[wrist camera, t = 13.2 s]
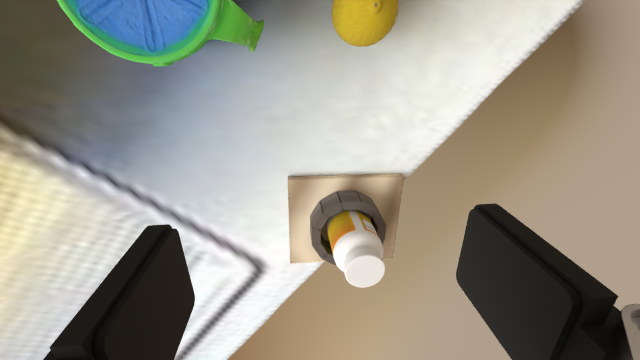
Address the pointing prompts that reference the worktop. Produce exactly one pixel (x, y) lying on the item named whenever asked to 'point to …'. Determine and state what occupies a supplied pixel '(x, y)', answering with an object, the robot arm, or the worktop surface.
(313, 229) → the collar board
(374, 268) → the supplement bottle
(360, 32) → the lemon
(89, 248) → the worktop surface
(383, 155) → the worktop surface
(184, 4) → the snack cup
